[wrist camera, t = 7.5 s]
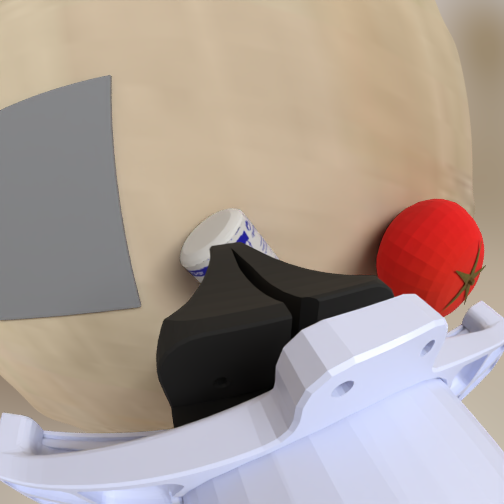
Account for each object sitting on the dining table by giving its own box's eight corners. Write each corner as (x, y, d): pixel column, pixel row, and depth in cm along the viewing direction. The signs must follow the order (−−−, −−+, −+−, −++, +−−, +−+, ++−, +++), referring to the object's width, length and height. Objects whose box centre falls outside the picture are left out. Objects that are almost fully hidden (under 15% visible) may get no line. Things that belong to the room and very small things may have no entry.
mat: (140, 304, 23) (140, 306, 23) (0, 318, 19) (-1, 320, 18) (111, 76, 15) (110, 74, 14) (-46, 135, 11) (-48, 135, 10)
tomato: (441, 231, 31) (503, 266, 21) (381, 304, 32) (437, 357, 23) (413, 164, 25) (497, 192, 16) (338, 252, 27) (413, 314, 17)
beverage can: (217, 252, 16) (323, 365, 23) (250, 194, 19) (334, 313, 26) (163, 267, 19) (272, 363, 26) (197, 216, 22) (287, 317, 30)
